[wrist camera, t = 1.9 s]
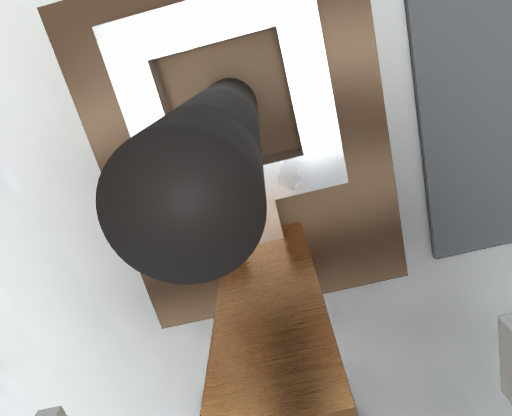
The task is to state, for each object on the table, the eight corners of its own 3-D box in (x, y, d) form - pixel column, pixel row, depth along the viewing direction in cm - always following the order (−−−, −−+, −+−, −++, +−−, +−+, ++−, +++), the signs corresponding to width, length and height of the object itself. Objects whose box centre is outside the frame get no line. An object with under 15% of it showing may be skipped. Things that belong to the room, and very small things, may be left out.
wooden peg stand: (390, 251, 25) (629, 586, 9) (171, 299, 26) (45, 676, 10) (343, -64, 19) (755, -616, 4) (66, 14, 21) (-584, -137, 5)
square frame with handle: (357, 261, 22) (468, 474, 11) (196, 297, 23) (141, 533, 11) (305, -27, 17) (403, -184, 6) (104, 29, 18) (-143, -19, 7)
